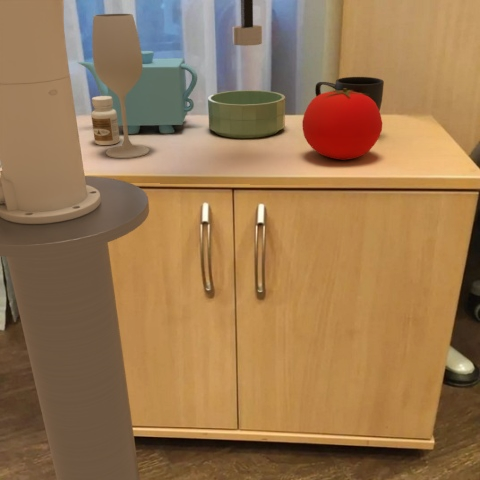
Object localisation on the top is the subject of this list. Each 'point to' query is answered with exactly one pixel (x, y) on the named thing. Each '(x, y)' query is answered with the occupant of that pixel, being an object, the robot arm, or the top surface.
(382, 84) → the mug
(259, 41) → the square post on disc
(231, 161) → the top surface
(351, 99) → the tomato
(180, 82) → the teapot
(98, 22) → the wineglass
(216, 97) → the bowl
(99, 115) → the pill bottle
